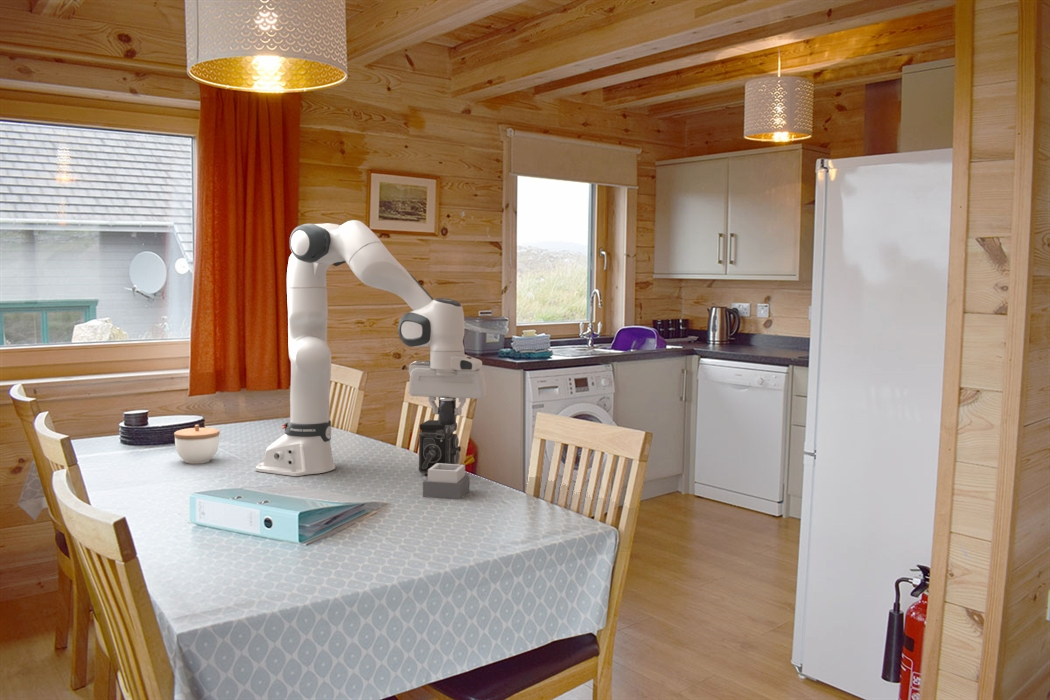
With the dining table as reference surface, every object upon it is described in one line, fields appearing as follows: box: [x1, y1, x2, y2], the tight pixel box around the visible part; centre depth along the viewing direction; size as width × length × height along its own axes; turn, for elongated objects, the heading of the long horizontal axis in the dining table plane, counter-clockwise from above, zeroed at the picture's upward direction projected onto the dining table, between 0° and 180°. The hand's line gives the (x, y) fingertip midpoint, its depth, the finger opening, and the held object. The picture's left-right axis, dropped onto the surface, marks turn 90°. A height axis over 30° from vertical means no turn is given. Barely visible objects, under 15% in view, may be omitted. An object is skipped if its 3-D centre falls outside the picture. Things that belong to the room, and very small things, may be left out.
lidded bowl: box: [173, 424, 220, 465], centre depth 241 cm, size 13×13×11 cm
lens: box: [437, 397, 457, 425], centre depth 208 cm, size 5×5×7 cm
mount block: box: [422, 463, 470, 500], centre depth 209 cm, size 10×9×7 cm
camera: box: [418, 419, 462, 476], centre depth 231 cm, size 10×10×15 cm
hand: (447, 414), depth 208 cm, fingers closed on lens, 4 cm apart
